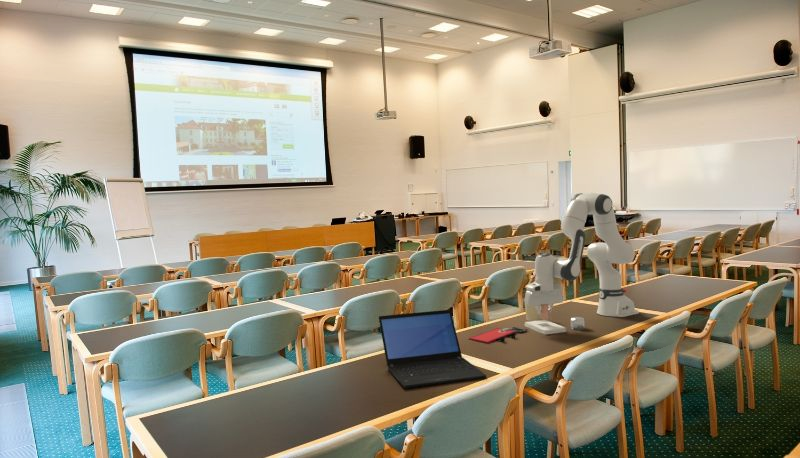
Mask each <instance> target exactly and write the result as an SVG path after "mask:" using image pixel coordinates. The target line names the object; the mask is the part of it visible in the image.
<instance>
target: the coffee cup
mask: <svg viewBox="0 0 800 458" xmlns="http://www.w3.org/2000/svg"><path fill="white" fill-rule="evenodd" d="M524 301H525V298H524ZM539 308H540V307H539ZM524 309H525V317H526V318H525V319H526V321H527V322H530V321H538V320H542V319H541V318H540V314H538V310H537V308H536V307H535V306H528V305H526V304H525V303H524Z"/></svg>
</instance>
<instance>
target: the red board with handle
mask: <svg viewBox="0 0 800 458" xmlns="http://www.w3.org/2000/svg"><path fill="white" fill-rule="evenodd" d="M528 329H529V328H522V327H515V326H514V327H511V328H510V327H509V328H507V327H506V328H500V327H497V328H494V329H491V330H487V331H486V332H482V333H480V334H477V335H474V336H471V337H469V338H468V340H470V341H474V342H479V343H482V344H487V345H488V344H491V343H494V342H498V341H500V343H505V340H506V338H508V337H509V338H511V339H516V334H517V333H523V332H526V331H528Z"/></svg>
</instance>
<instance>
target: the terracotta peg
mask: <svg viewBox="0 0 800 458" xmlns="http://www.w3.org/2000/svg"><path fill="white" fill-rule="evenodd" d="M540 310H542V314H540V318H541V320H548V319H550V317H549V315H550V313H549V304H545V305H540Z"/></svg>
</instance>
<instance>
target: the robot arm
mask: <svg viewBox="0 0 800 458" xmlns="http://www.w3.org/2000/svg"><path fill="white" fill-rule="evenodd" d="M615 213H616V212H615V211H614V207H613V200H612V199H611V197H610V196H609V195H607V194H604V193H601V194H600V193H595V192H590V193H588V192H587V193H586V192H585V193H582V192H581V193H576V194H574V195H573V197H571V200H570V203H569V204H568V205H567V208H566V210H565V211H564V215H563V217H562V220H561V223H560V229H561V231H562V233H563V234H564V235H565V236H566V237H567V238H569V239H570V240H571V246H570V247H571V248H570V252H569V256H568V259H563V258H559V257H556V256H554V255H552V253H550V252H542V253H538V254H537V255H536V257H535V262H534V272H535V273H534V274H535V277H534V281H533V282H531V283H529V284H527V285H526V286H525V289H526V291H525V295H524V299H525V300H524V305H525V304H526V305H528V306H535V307H536V308H537V310H538V314H542V310H540V308H539V307H540V305H545V304H549V314H550V313H552V309H553V308H554V304H561V303H563V301H564V294H563V286H562V285H561V284H558V283H556V284H554V278H558V279H562V280H566V281H569V282H574V281H576V280H577V279H578V278H579V277H580V274H581V269H582V260H583V259H582V258H583V255H584V248H585V243H586V233H585V231H584V230H585V224H586V222H587V218H588V215H592V218H593V224H594V225H593V226H594V230H595V234H596V237H598V238H599V239H601V240H602V241H604V242H601V241H600V242H599V241H598V242H593V243H590V244H589V245H588V246H587V249H586V255H587V258H588V260H590V261H591V262H593V264H594V266H595V267H596V269H597V271H598V277H599V280H598V281H599V288H598V297H599V299H598V305H597V309H596V314H598V315H601V316H606V317H615V318H626V317H628V316H633V315H639V314H640V311H639V309H635V302H634V301H633V300H632V299H630V298H629V297H628V296H626V295H625V293H628V291H629V290H628V289H627V288H622V275H621V274H622V273H621V272H620V271H618V270H617V269H616V268H614V267H613V264H615V265H617V264H618V265H624V264H630V263H632V262H633V261H634V259H635V255H636V253H635V250H634V247H633V246H632V245H630V244H629V243H628V242H626V240H624V238H623V237H622V235H621V234H620V232H619V229H618V228H619V227H618V225H617V220H616V219H617V218H616V214H615Z"/></svg>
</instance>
